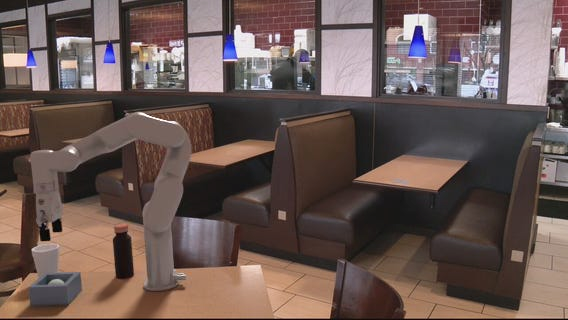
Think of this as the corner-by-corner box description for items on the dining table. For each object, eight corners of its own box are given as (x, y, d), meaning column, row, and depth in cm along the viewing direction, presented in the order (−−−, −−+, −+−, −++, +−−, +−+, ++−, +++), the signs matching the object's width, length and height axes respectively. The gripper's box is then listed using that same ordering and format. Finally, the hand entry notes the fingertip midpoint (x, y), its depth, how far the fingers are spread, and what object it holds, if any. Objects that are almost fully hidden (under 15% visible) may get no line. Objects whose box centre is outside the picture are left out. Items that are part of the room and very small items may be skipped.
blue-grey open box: (82, 290, 184) (80, 271, 183) (68, 305, 171) (66, 285, 170) (46, 291, 184) (44, 273, 183) (30, 307, 171) (28, 287, 170)
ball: (69, 292, 180) (67, 276, 180) (62, 299, 175) (60, 282, 174) (51, 293, 180) (50, 276, 179) (44, 300, 174) (42, 283, 174)
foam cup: (67, 276, 198) (64, 243, 196) (54, 285, 189) (50, 251, 187) (43, 275, 199) (40, 243, 197) (29, 285, 190) (26, 251, 188)
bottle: (136, 276, 195) (132, 226, 192) (117, 280, 192) (113, 229, 189) (131, 271, 201) (128, 221, 198) (114, 274, 198) (109, 224, 195)
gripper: (46, 192, 163) (52, 244, 166) (67, 181, 180) (72, 228, 183) (22, 193, 163) (28, 245, 166) (46, 182, 180) (51, 229, 183)
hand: (51, 236), depth 174 cm, fingers open, 9 cm apart
